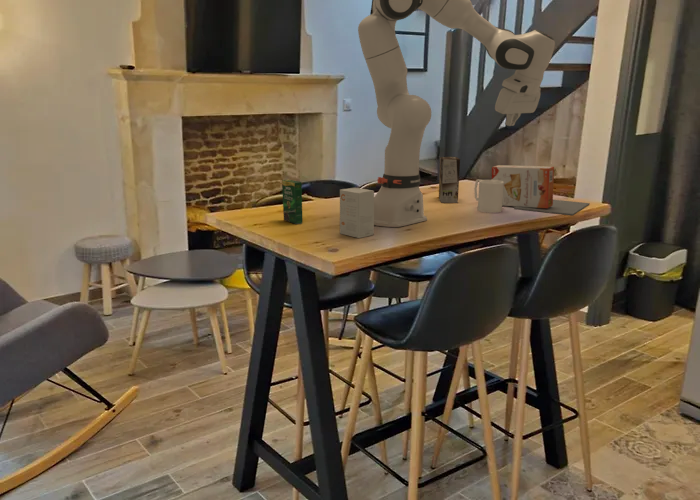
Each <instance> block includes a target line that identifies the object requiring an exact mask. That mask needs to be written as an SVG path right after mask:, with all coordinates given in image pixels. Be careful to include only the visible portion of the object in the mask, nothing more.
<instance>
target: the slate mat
mask: <svg viewBox="0 0 700 500" xmlns="http://www.w3.org/2000/svg"><path fill="white" fill-rule="evenodd" d="M589 205H591V204H590V202H580V201H573V200H564V199H563V200H561V199H553V206H551V207H549V208H532V207H518V206H513V210H521V211H527V212H528V211H529V212H538V213H547V214H548V213H549V214H555V215H556V214H557V215H565V216H566V215H567V216H574V215H576V214H577V213H578V212H580V211H582V210H583V209H585V208H586V207H588V206H589Z"/></svg>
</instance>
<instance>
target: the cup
mask: <svg viewBox="0 0 700 500" xmlns="http://www.w3.org/2000/svg"><path fill="white" fill-rule="evenodd" d="M503 186H504V182H503V181H499V180H492V179H479V178H477V179H476V180H475V183H474V188H473V189H474V190H473V191H474V198H475V200H476V201H477V211H478V212H482V213H491V214H493V213H494V214H495V213H500V212H502V211H503V206H502V201H503Z"/></svg>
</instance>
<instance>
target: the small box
mask: <svg viewBox="0 0 700 500" xmlns="http://www.w3.org/2000/svg"><path fill="white" fill-rule="evenodd" d="M374 197H375V190H371V189H366V188H360V187H350V188H342V189H339V234H341V235H346V236H350V237H353V238H356V239H360V238H365V237H370V236H374V235H375V234H374V233H375V231H374V230H375V225H374Z"/></svg>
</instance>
